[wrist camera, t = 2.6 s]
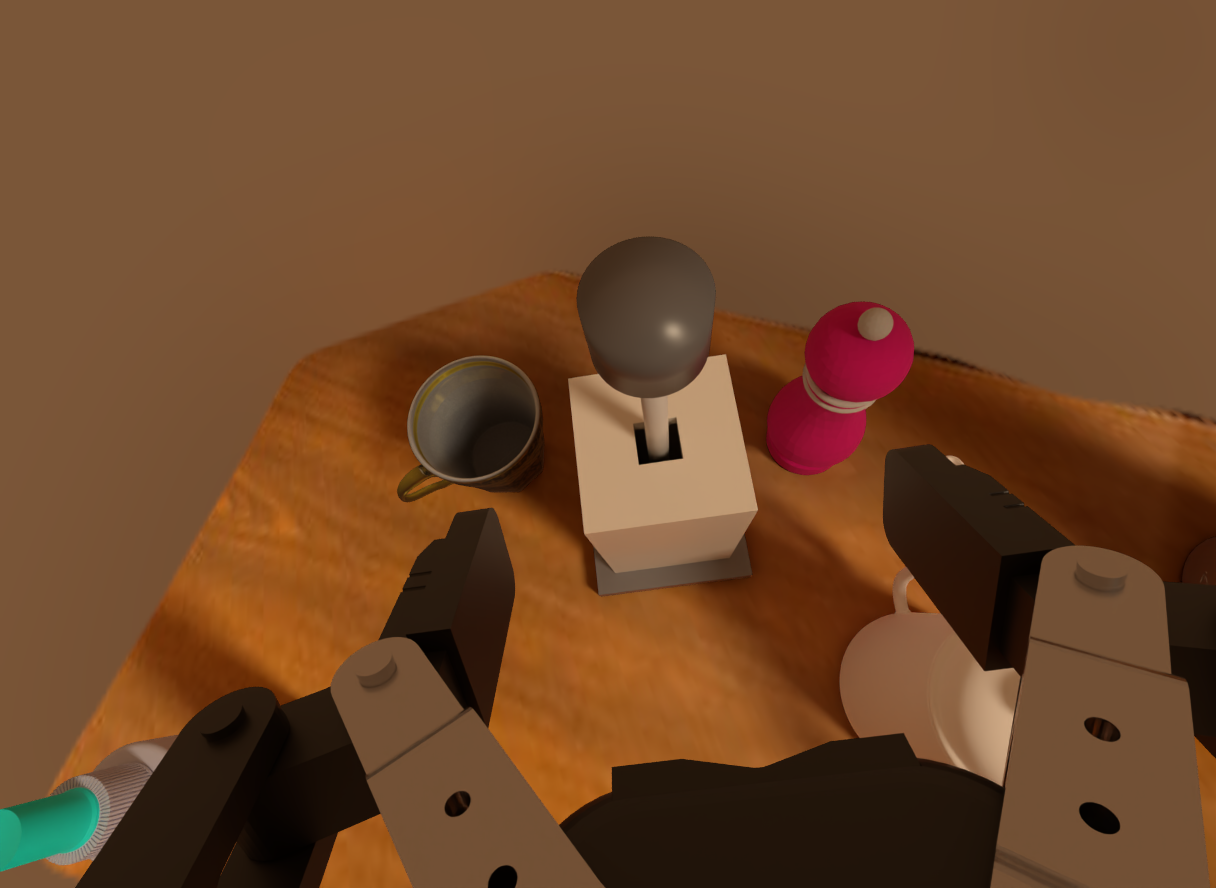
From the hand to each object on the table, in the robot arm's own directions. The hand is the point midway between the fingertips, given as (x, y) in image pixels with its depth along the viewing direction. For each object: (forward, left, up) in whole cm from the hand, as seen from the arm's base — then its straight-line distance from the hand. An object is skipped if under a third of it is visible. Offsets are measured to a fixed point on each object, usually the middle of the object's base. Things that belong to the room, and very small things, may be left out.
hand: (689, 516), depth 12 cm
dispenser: (0, -8, -37) cm, 38 cm away
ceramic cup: (+14, -14, -37) cm, 42 cm away
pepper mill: (-13, -13, -37) cm, 41 cm away
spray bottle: (+31, +7, -37) cm, 49 cm away
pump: (0, -8, -25) cm, 26 cm away
